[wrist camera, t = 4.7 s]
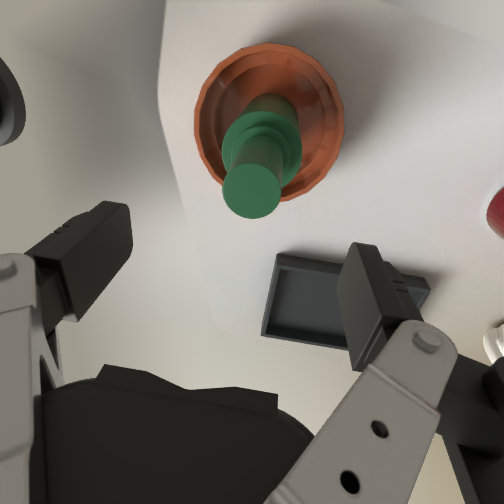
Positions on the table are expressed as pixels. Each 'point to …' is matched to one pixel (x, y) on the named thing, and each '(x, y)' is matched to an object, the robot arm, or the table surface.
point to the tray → (313, 302)
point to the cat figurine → (494, 343)
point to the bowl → (279, 82)
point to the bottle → (261, 155)
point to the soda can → (496, 213)
